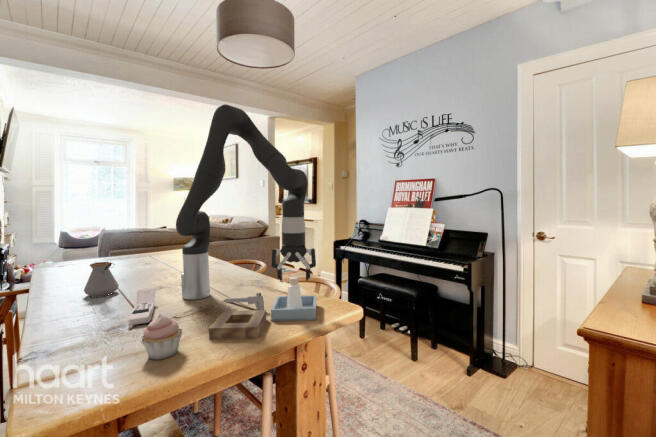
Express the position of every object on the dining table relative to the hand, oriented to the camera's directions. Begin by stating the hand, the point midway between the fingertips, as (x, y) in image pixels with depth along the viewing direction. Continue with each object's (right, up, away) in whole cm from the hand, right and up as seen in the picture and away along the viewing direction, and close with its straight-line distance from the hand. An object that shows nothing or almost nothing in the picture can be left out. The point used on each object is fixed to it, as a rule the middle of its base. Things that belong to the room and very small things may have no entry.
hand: (294, 280), depth 102 cm
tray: (0, -11, +1) cm, 11 cm away
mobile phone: (-50, -12, +1) cm, 52 cm away
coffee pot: (-77, -11, +21) cm, 81 cm away
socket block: (-15, -12, -12) cm, 22 cm away
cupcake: (-29, -13, -26) cm, 41 cm away
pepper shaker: (0, -10, +1) cm, 10 cm away
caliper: (-19, -11, +8) cm, 24 cm away
